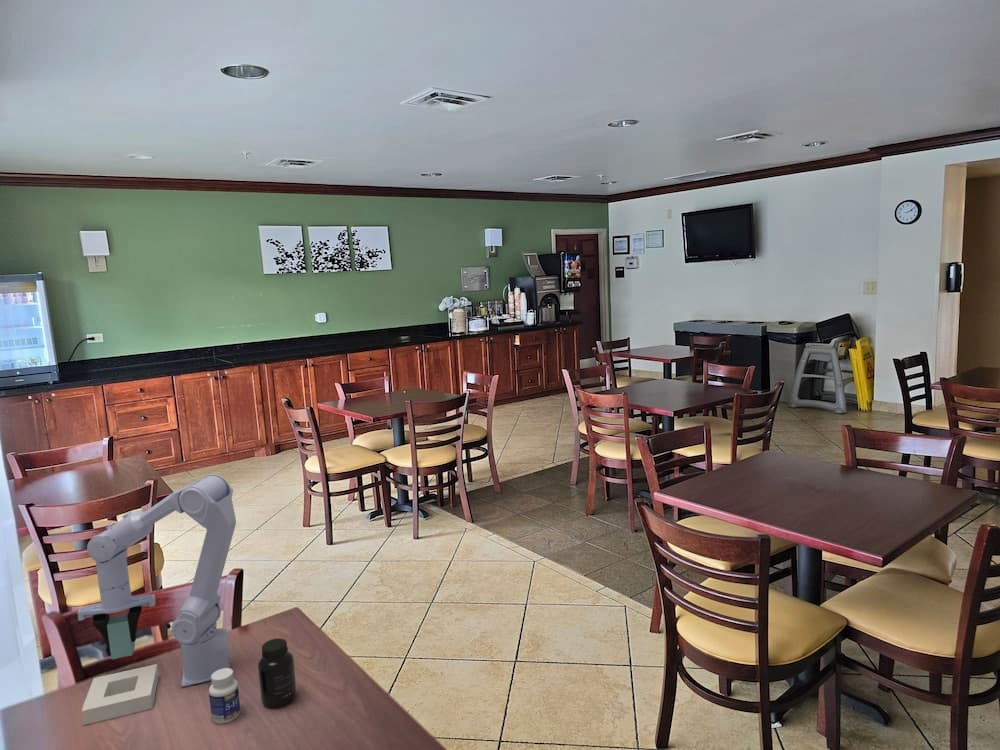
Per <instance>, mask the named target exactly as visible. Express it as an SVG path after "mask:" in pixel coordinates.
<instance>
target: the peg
mask: <svg viewBox="0 0 1000 750" xmlns="http://www.w3.org/2000/svg"><path fill="white" fill-rule="evenodd" d="M127 615H128V613H127V612H125V613H123V614H117V615H116V614H115V615H112V616H109V617H110V618H109V621H108V623H107V630H108V637H109V645H110V647H109V651H110V658H111V660H117V659H120V658H125V657H126V658H127V657H129V656H133V654H134V650H135V648H136V644H135V642H136V641H135V642H131V633H130V625H129V621H128V617H127Z"/></svg>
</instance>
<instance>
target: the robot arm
mask: <svg viewBox="0 0 1000 750" xmlns="http://www.w3.org/2000/svg"><path fill="white" fill-rule="evenodd" d="M233 493H234V489H233V487H232V486H231V485H230V484H229V482H228V481H227V479H226V478H225V477H223V476H222V475H220V474H216V473H213V474H212V473H211V474H209V475H206V476H205V477H204V478H203V479H198V480H196V481H193V482H192V483H189V484H187V485H186V486H183V487H182V488H179V489H177V490H176V491H173V492H171V494H169V495H167V496H166V497H164V498H163V499H162V500H160V501H159V502H157V503H156V504H154V505H153V506H152V507H150V508H148V509H147V510H146V511H142V510H141V511H140V510H135V511H128V512H126V513H125V514H123V515H122V519H120V521H118V522H116V523H111V524H109V525H107V527H106V528H105V529H106V530H104V531H103V532H100V533H99V534H96V535H93V537H92V538H91V539H90V540H89V541H88V543H87V546H86V549H87V550H86V551H87V554H88V556H89V557H90V558H91V559H92V560H93V561H95V566H96V567H95V568H96V574H97V581H98V589H99V595H100V597H99V598H100V602H98V603H95V604H91V605H89V606H84V607H79V608H78V611H77V618H78V619H77V620H78V621H83V620H85V619H87V618H88V619H89V618H92V621H91V624H92V625H93V627H94V628H95V629H96V630H97V631H98V632H99V634H100V635H101V636H102V638H103V639H104V642H105V645H106V647H107V648H110V645H109V637H108V630H107V623H108V621H109V618H110V617H111V616H110V614H113V613H114V614H115V613H119V612H124V611H128V615H127V617H128V621H129V625H130V633H131V642H136V640H137V630H138V628H137V627H138V624H139V618H140V617H141V613H142V611H143V607H150V608H151V607H155V605H156V595H155V594H154V593H153V594H146V595H132V590H131V583H130V577H129V569H128V568H129V567H128V560H127V557H128V549H129V547H131V546H133V545H135V544H136V543H137V542H139V541H140V540H142V539H144V538H146V537H147V536H148V535H150V534H151V533H152V532H153V529H154V524H156V523H157V522H159V521H160V520H162V519H164V518H166V517H167V516H169V515H170V514H171V513H173V512H175V511H176V512H177V513H179V514H183V513H185V514H186V515H187V516H189V517H190V518H191V519H193V521H195V522H196V523H198V524H199V525H200V526H201V527H203V528H205V530H206V532H205V535H204V539H203V544H202V547H201V551H200V554H199V558H198V563H197V565H196V566H197V567H196V569H195V572H194V573H195V574H194V578H193V582H192V583H191V584H192V585H191V589H190V592H189V596H188V598H187V599H186V600H185V602H184V604H183V605H182V607H181V609H180V611H179V614H178V616H177V618H176V619H174V620H173V622H172V624H171V633H172V636H173V638H174V639H175V640H176V641H177V642H178V643H179V645H180V646H181V647H180V648H181V656H182V657H181V658H182V666H183V670H182V671H183V672H182V677H181V678H182V679H181V687H182V688H185V687H189V686H193V685H197V684H202V683H205V682H209V681H210V682H211V675H212V674H213V673H214V672H215V671H217V670H220V669H223V668H230V669H231V662H232V656H231V655H232V654H231V652H230V647H229V646H230V645H229V638H228V637H229V636H228V629H226V628H222V629H220V628H219V629H218V628H217V626H218V625H217V621H219V618H220V617H221V613H222V610H221V606H220V605H221V604H220V603H221V598H222V596H221V595H220V594H218V590H219V586H220V584H221V579H222V576H223V572H224V569H225V565H226V562H227V557H228V554H229V550H230V548H231V543H232V540H233V537H234V536H233V535H234V532H235V528H236V524H237V519H236V513H235V509H234V508H235V507H234V505H233Z"/></svg>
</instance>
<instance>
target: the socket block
mask: <svg viewBox="0 0 1000 750" xmlns="http://www.w3.org/2000/svg"><path fill="white" fill-rule="evenodd" d="M158 677H160V675H159V669H158V664H157V663H156V664H155V663H154V664H151V665H147V666H143V667H138V668H133V669H132V668H131V669H128V670H125V671H119V672H115V673H110V674H106V675H101V676H98V677H97V676H96V677H93V679H92V682H91V684H90V687H89V689H88V692H87V694H86V698H85V701H84V703H83V705H82V709H81V712H80V713H81V718H82V725H83V726H87V725H90V724H93V723H99V722H102V721H103V722H104V721H107V720H111V719H115V718H118V717H119V718H120V717H124V716H127V715H131V714H132V715H133V714H136V713H139V712H144V711H148V710H152V709H153V707H154V702H155V695H156V692H157V687H158V681H159V678H158Z"/></svg>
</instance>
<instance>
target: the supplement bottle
mask: <svg viewBox="0 0 1000 750" xmlns="http://www.w3.org/2000/svg"><path fill="white" fill-rule="evenodd" d="M287 643H288V642H287V640H285V639H284V638H280V637H279V638H273V639H269V640H267V641H266V642H264V643H263V644H262V646H261V658H260V659H259V660H258V665H257V669H258V678H259V679H258V680H259V687H260V688H259V689H260V697H261V704H262V705H263V706H264V707H266V708H267V709H273V710H274V709H280V708H283V707H287V706H288V705H289V704H291V703H292V702H294V700H295V698H296V697H297V684H296V672H295V662H294V661H295V660H294V656H293V654H292V653H291V652H290V651H289V648H288V644H287Z"/></svg>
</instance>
